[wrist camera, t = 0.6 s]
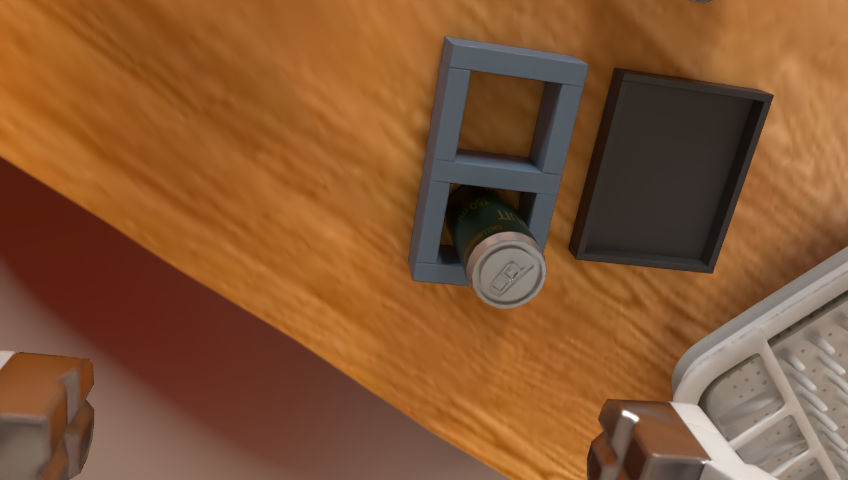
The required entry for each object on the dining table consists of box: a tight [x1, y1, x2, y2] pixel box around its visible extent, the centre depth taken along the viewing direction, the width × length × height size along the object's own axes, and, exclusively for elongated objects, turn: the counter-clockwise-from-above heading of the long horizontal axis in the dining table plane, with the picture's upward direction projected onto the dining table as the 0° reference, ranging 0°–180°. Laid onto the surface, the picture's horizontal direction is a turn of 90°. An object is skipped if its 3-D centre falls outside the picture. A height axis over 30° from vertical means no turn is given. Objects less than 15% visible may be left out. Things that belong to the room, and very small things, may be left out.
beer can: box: [445, 185, 546, 309], centre depth 51 cm, size 5×5×12 cm
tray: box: [568, 68, 774, 274], centre depth 56 cm, size 15×12×2 cm
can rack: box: [408, 36, 589, 286], centre depth 54 cm, size 18×10×4 cm, turn 171°
